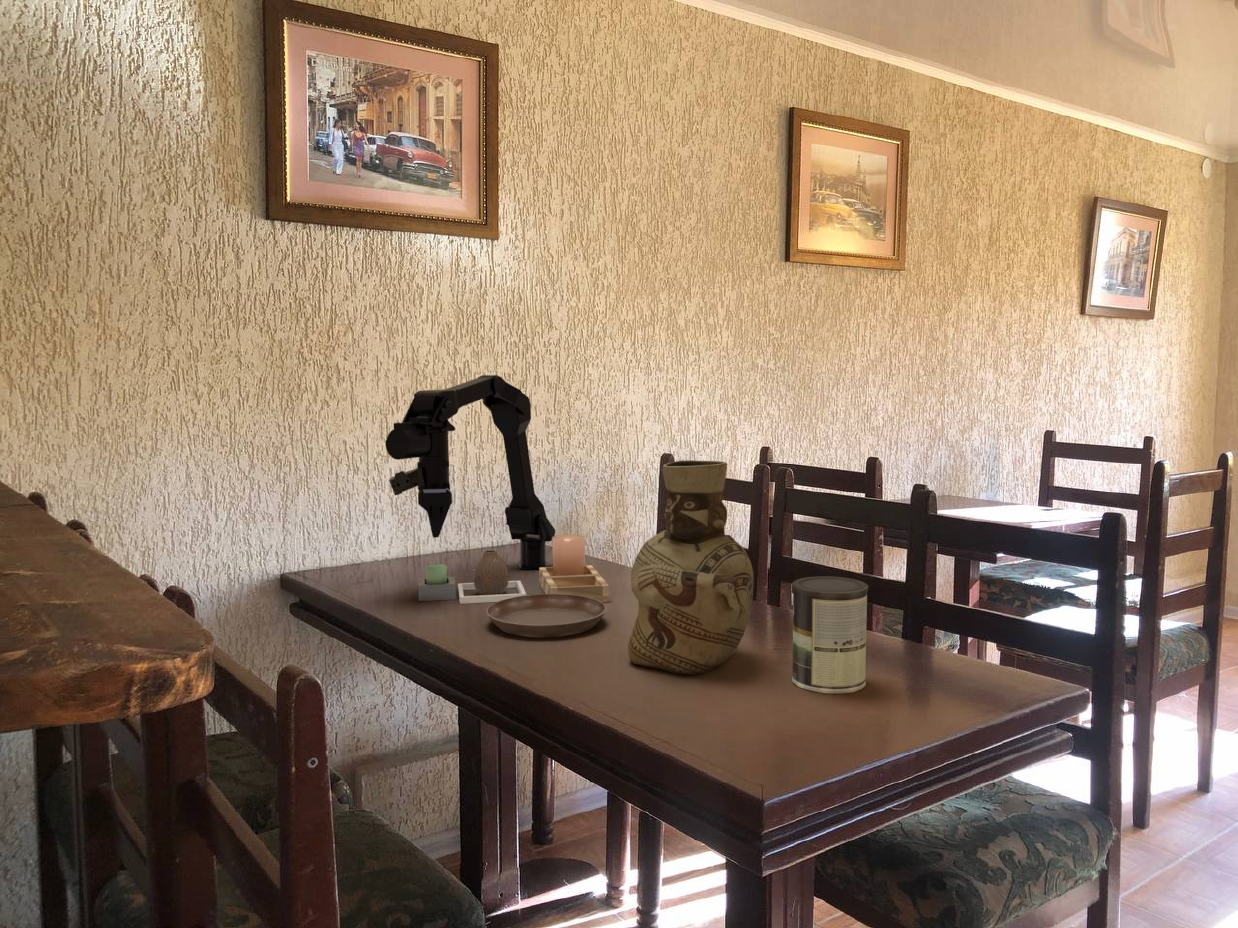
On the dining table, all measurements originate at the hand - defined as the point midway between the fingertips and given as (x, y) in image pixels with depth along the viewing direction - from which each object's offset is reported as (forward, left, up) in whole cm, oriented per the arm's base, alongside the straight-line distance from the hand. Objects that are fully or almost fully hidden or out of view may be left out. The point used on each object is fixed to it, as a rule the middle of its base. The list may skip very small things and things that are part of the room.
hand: (435, 535), depth 192 cm
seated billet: (-3, +26, -11) cm, 29 cm away
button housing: (0, 0, -12) cm, 12 cm away
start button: (0, 0, -10) cm, 10 cm away
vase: (+1, +11, -12) cm, 16 cm away
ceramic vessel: (+51, +38, -12) cm, 64 cm away
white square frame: (+1, +11, -12) cm, 16 cm away
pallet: (+2, +27, -12) cm, 29 cm away
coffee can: (+66, +54, -12) cm, 86 cm away
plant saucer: (+26, +19, -12) cm, 34 cm away
